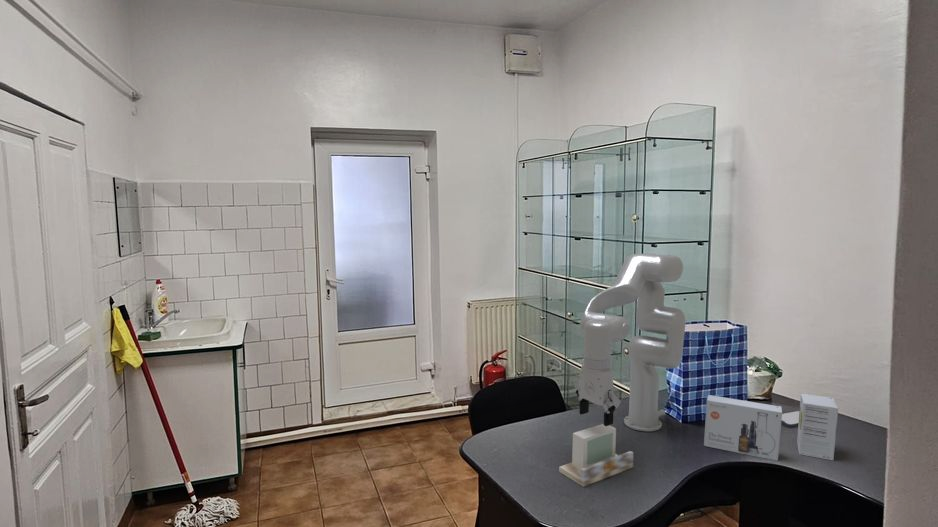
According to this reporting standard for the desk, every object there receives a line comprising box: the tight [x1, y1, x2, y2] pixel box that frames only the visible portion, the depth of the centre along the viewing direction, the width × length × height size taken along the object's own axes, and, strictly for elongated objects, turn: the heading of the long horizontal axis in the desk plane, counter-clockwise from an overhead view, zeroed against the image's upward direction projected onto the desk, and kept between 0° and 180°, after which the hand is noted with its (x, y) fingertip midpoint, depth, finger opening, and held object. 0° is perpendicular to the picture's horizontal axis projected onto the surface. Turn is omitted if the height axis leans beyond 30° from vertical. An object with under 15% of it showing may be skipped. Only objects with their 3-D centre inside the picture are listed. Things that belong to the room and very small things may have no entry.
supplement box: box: [796, 393, 839, 461], centre depth 173 cm, size 10×9×17 cm
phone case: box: [781, 410, 800, 429], centre depth 198 cm, size 9×2×16 cm
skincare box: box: [703, 394, 783, 462], centre depth 174 cm, size 21×6×16 cm, turn 62°
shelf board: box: [558, 450, 634, 487], centre depth 163 cm, size 20×10×5 cm, turn 123°
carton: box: [571, 423, 617, 471], centre depth 163 cm, size 5×13×10 cm, turn 123°
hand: (595, 418), depth 162 cm, fingers open, 9 cm apart
